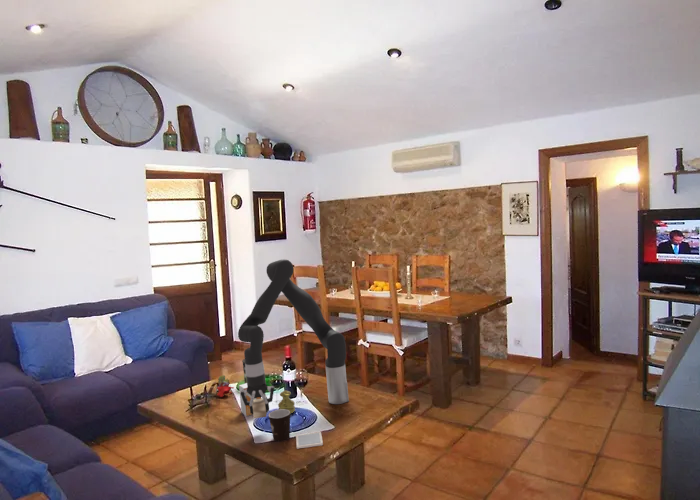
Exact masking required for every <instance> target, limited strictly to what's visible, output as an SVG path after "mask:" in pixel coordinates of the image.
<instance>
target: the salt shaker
mask: <svg viewBox="0 0 700 500" xmlns="http://www.w3.org/2000/svg"><path fill="white" fill-rule="evenodd" d="M291 394H292V393H291V391H289V390H283V391H281V392H280V393H279V396H280V397H282V399H281V400H280V401H279V402H278V403H277V406H278V410H280V409H286V410H289V411H290V414H291V413H293V412H294V411H295V412H296V406H295V404H296V403H295V401H294V400H292V399H291V398H290V396H291ZM295 412H294V413H295ZM294 413H293V414H294ZM291 415H292V414H291Z"/></svg>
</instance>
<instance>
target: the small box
mask: <svg viewBox="0 0 700 500" xmlns="http://www.w3.org/2000/svg"><path fill="white" fill-rule="evenodd" d="M238 389H239V400H240V401H239V402H240V410H241V411H240V412H241V413H242V414H243V415H244V416H246V417H249V416H251V415H252V414H251V413H250V406H248V405H247V406H246V405H245V404H244V402H243V399H242V396H241V391H242V390H243V391H244V390H246V389H247V383H245V382H244V383H242V384H239V385H238ZM246 398H247V400H248V401H250V399H251V395H250V394H249V393H248V392H247V394H246ZM255 399H262V397H257V398H254V400H255ZM252 416H253V415H252Z"/></svg>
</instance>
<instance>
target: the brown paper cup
mask: <svg viewBox="0 0 700 500" xmlns="http://www.w3.org/2000/svg"><path fill="white" fill-rule="evenodd" d="M268 419H269V423H270V429H271V432H272V438H273V440H274V441H275V442H279V443H280V442H285V441H287V440H289V439H290V433H291V432H290V431H291V415H290V411H289V410H286V409H280V410H279V409H276V410H272V411H271V412H269V413H268Z"/></svg>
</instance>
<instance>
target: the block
mask: <svg viewBox="0 0 700 500" xmlns="http://www.w3.org/2000/svg"><path fill="white" fill-rule="evenodd" d="M252 406H253V415H252V416H253V419H260V418H266V417H267V413H268V412H267V413H266V407H265V401H264V400H263V398H262V397H261V399H255V400H253V403H252Z"/></svg>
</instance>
